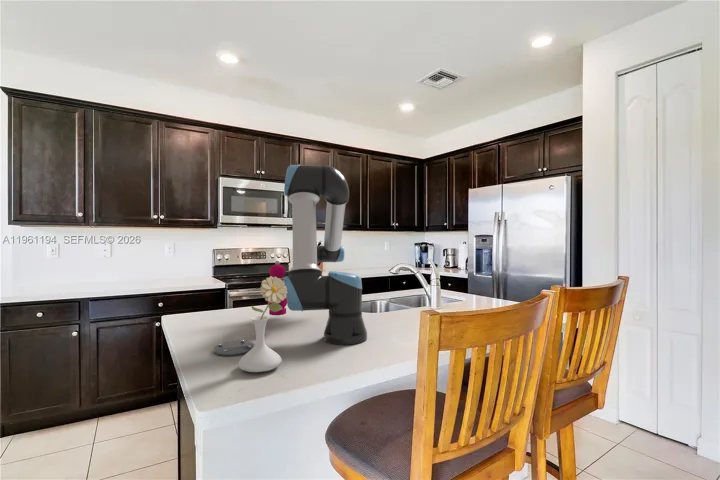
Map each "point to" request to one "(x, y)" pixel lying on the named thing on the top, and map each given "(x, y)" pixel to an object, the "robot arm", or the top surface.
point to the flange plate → (233, 348)
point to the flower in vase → (260, 354)
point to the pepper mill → (279, 273)
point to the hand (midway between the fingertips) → (271, 286)
